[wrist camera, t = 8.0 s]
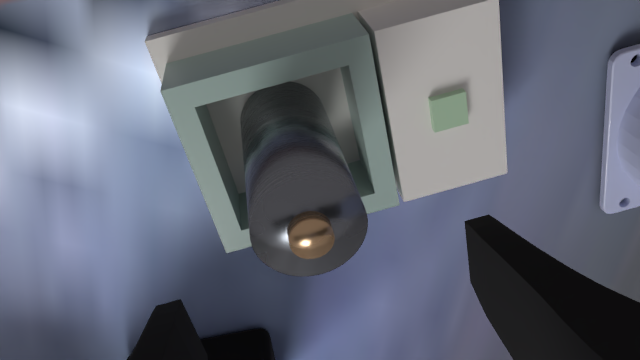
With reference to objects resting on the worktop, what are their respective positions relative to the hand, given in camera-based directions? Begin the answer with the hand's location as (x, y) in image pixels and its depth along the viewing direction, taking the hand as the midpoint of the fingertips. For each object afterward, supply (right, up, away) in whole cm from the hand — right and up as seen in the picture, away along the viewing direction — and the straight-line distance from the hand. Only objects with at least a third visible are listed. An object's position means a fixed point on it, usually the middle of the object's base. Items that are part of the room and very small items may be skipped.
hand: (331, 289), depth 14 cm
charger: (0, +6, +8) cm, 10 cm away
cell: (-2, +5, +7) cm, 9 cm away
